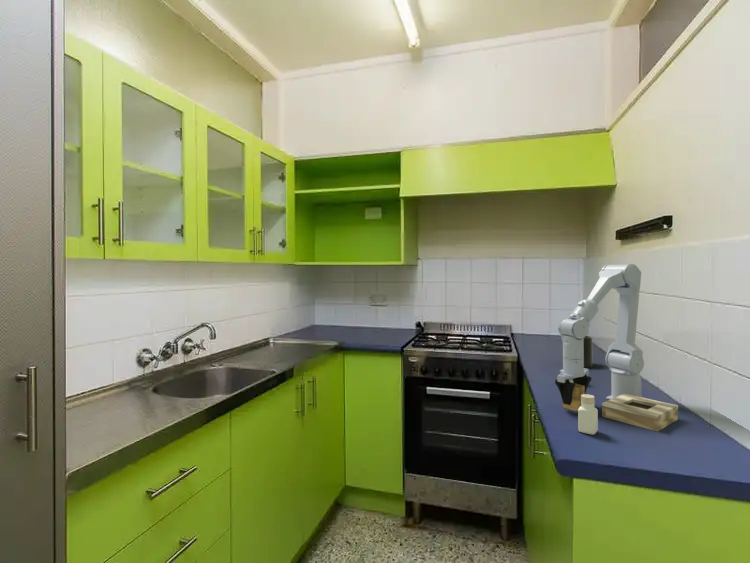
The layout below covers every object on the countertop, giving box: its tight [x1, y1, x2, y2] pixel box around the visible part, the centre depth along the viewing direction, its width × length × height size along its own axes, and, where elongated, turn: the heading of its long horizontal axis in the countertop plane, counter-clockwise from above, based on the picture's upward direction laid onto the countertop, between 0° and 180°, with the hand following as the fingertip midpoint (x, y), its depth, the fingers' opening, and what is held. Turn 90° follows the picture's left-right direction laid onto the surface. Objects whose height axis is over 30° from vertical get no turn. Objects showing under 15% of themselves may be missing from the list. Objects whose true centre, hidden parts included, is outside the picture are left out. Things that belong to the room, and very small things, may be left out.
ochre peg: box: [562, 384, 586, 412], centre depth 126 cm, size 4×4×7 cm
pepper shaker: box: [577, 393, 599, 435], centre depth 107 cm, size 4×4×10 cm
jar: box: [561, 333, 594, 369], centre depth 179 cm, size 12×12×15 cm
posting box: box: [601, 394, 679, 432], centre depth 116 cm, size 14×14×4 cm
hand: (573, 401), depth 126 cm, fingers open, 7 cm apart
